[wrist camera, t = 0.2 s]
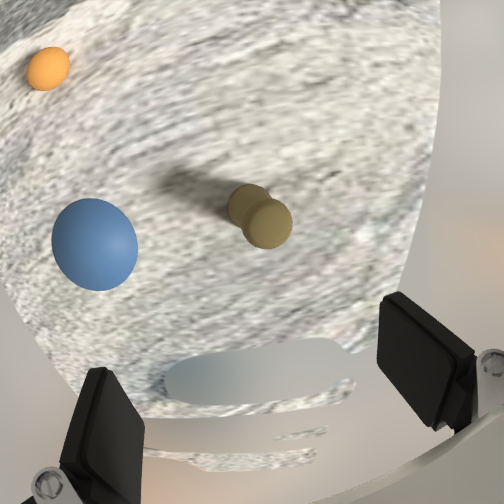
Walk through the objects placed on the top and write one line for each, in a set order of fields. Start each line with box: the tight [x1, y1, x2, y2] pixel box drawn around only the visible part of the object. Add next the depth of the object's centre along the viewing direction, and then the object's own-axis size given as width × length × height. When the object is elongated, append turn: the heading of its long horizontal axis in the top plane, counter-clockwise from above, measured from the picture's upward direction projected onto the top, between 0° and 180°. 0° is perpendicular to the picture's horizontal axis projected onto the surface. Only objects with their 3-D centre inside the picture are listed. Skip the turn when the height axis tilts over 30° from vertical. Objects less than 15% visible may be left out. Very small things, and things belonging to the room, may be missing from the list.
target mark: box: [52, 199, 138, 291], centre depth 37 cm, size 13×13×1 cm
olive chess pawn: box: [228, 185, 293, 249], centre depth 34 cm, size 6×6×11 cm
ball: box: [27, 47, 70, 91], centre depth 25 cm, size 6×6×6 cm
